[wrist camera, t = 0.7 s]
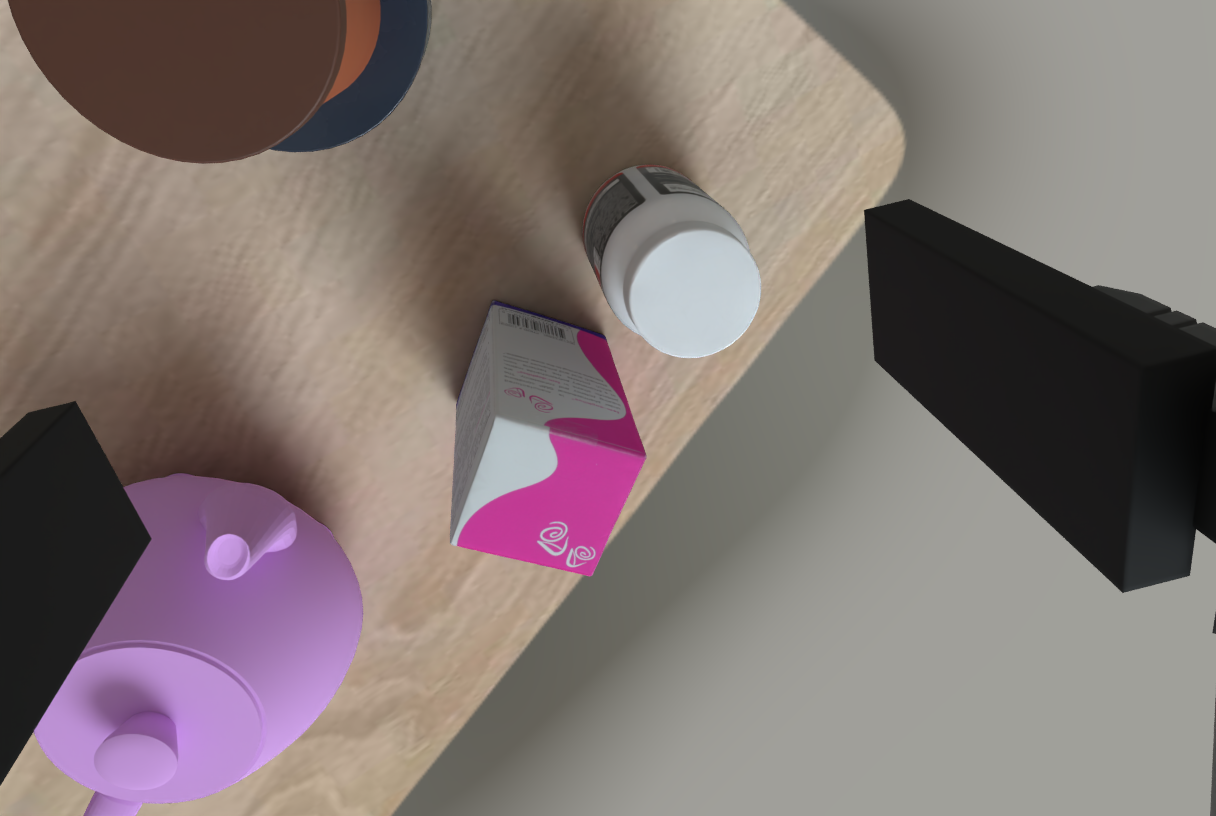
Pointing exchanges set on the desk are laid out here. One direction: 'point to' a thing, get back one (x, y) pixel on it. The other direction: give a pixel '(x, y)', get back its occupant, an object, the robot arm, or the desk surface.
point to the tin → (371, 81)
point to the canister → (199, 67)
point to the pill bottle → (671, 261)
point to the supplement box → (541, 443)
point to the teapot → (206, 647)
